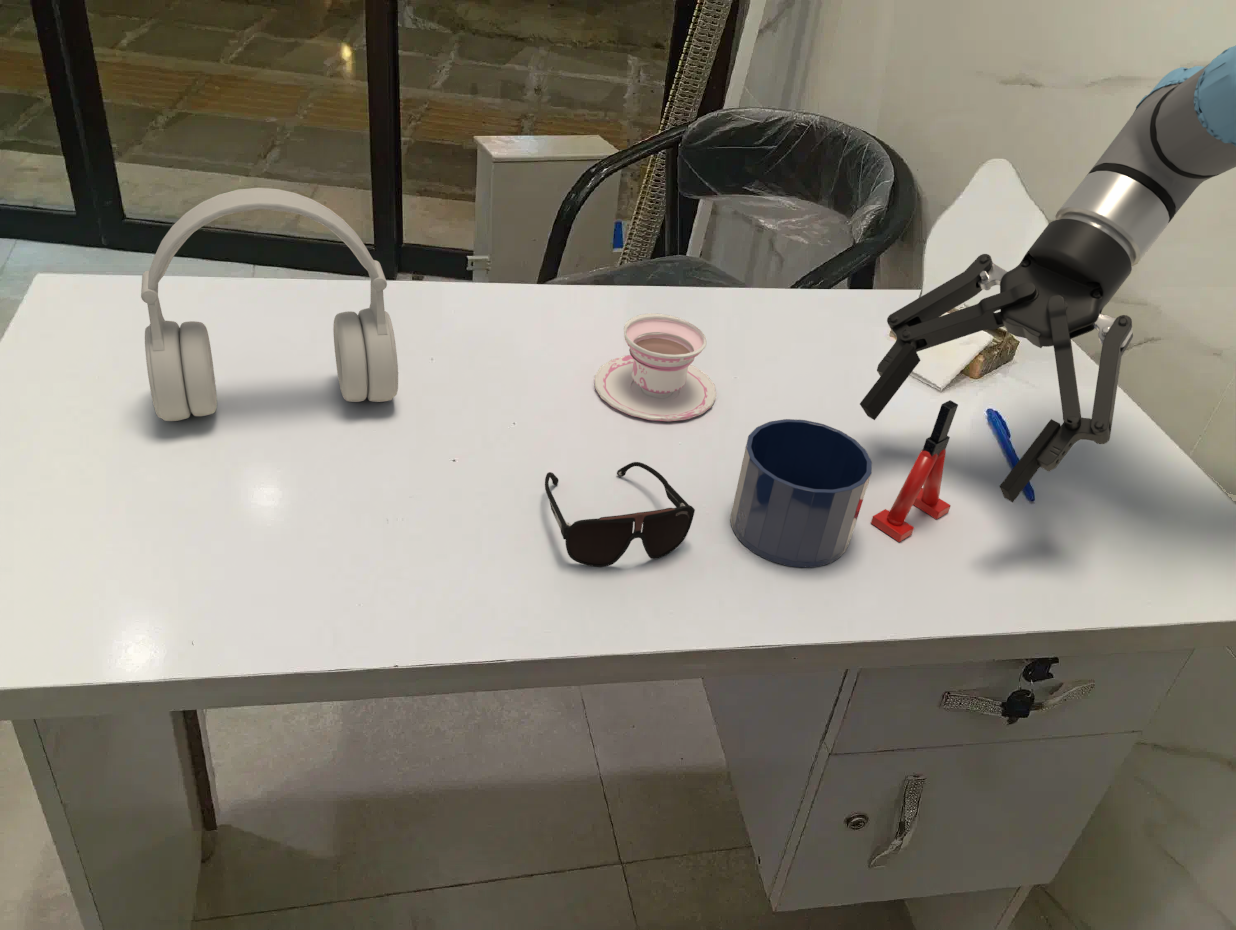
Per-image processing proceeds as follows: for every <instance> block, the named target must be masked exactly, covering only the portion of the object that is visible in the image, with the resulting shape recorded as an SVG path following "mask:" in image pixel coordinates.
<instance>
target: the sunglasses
mask: <svg viewBox="0 0 1236 930" xmlns="http://www.w3.org/2000/svg"><path fill="white" fill-rule="evenodd" d="M634 467H639V468H641V469H644V470H645V471H647V472H649V473H650V474H651V475H653V476H654V477H655V478H656V479H657V480H658V481H660V482H661V484H662V486H663V487H664V490H665V494H666V497H667V499H668V500H669V501H670V502H671V503H672V504H673V505H674V506H675V507H667V508H662V509H655V510H647V511H638V512H632V513H627V514H619V515H611V516H609V515H608V516H601V517H599V518H587V519H586V518H585V519H580V520H576V521H574V522H573V523H572V524H571V523H569V522H567V521H566V519H565V518H564V516H563V514H562V512H561V509H560V508H559V505H558V504H557V501H556V499H555V497H554V495H553V494H552V491H551V489H550V484H549V482H550V479H551V483H552V485H553V486H556V485H558V484H559V478H558V477H557V475H555V474H554V473H553V472H547V473H546V475H545V478H544V490H545V493H546V495H547V498H548V501H549V505H550V510H551V513H552V514H553V517H554V519H555V521H556V523H557V525H558V527H559V530H560V534H561V536H562V539H563V540H565V548H566V552H567V555H568V557H569V558H570V559H571V560H573V561H574V562H576V563H579V564H581V565H583V566H588V567H593V568H605V567H609V566H612V565H614V564H616V562H618V561H619V559H621V557H623V555H624V554H625V553H626V551H627V550H628V548H629V547H630V545H631V542H633V540H635V539H640V540H641V543H642V546H643V548H644V550H645V552H646V554H647V557H648V558H650V559H652V560H656V559H657V560H658V559H660V558H663V557H666V556H667V555H669V554H670V553H672V552H674V550H676V549H677V548H678V547H679V546H680V545H682V543H683V542H684V540H686V537H687V535H688V533H689V532H690V529H691V526H692V523H693V520H694V515H695V511H696V509H695V508H694V507H693V506H692V505H690V504H689V503H688V502H687V501H686V500H685V499H684V498H683V497H682V495H680V494H679V493H678V492H677V490H675V489H674V488H673V486H672V485H670V483H669V482H668V480H667V479H666V478H665V477H664V475H662V474H661V473H660V472H658V471H657V470H656V469H654V468H653V467H651V466H650V465H648V464H646V463H643V462H641V461H632V462H630V463H628V464H626V465H624V466H622V467H621V468H619V469H618V470H617V472H616V475H617V477H619V478H622V477H625V475H626V473H627V471H628V470H630V469H631V468H634Z"/></svg>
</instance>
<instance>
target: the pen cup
mask: <svg viewBox="0 0 1236 930" xmlns="http://www.w3.org/2000/svg"><path fill="white" fill-rule="evenodd" d="M871 459H872V458H871V457H870V455H869V453H868V451H867V450H866V449H865V447H863V446H862V445H861V443H860V442H858V441H857V440H856V439H854V438H853V437H851V436H850V435H848V434H846V433H845V432H843V431H841V430H840V429H837V428H835V427H832V426H829V425H827V424H824V423H820V422H816V421H811V420H806V419H791V418H784V419H778V420H771V421H767V422H765V423H763V424H761V425H758V426H757V427H755V428H754V430H752V431H751V432H750V434H748V436H747V440H746V444H745V449H744V454H743V458H742V462H741V467H740V472H739V476H738V481H737V485H736V489H735V495H734V498H733V503H732V508H731V512H730V526H731V528H732V531H733V533H734V534H735V536H736V538H737V539H738V540H739V541H740V542H741V544H743V545H744V546H745V547H746V548H747V549H748V550H749V551H751V552H753V553H754V554H755V555H757V556H759V557H761V558H763V559H765V560H767V561H770V562H772V563H775V564H779V565H783V566H787V567H792V568H817V567H821V566H825V565H829V564H831V563H834V562H835V561H837V560H838V559H840V558H841V557H842V556H843V555H844V554H845V553H846V551H847V549H848V547H849V544H850V542H851V540H852V537H853V533H854V530H855V527H856V523H857V521H858V518H859V514H860V512H861V508H862V505H863V502H864V499H865V495H866V493H867V489H868V486H869V482H870V480H871V476H872V473H873V471H872V469H873V462H872V460H871Z"/></svg>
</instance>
